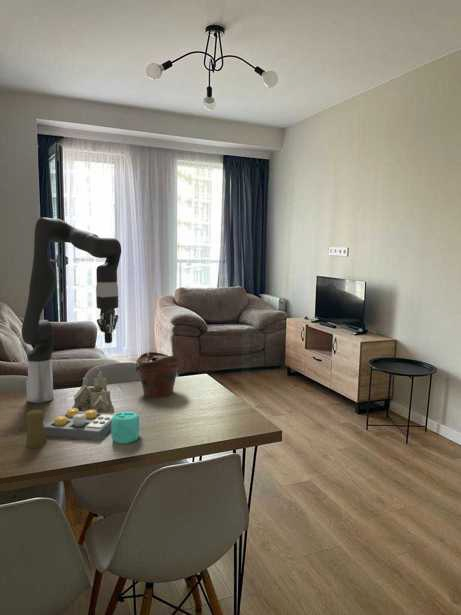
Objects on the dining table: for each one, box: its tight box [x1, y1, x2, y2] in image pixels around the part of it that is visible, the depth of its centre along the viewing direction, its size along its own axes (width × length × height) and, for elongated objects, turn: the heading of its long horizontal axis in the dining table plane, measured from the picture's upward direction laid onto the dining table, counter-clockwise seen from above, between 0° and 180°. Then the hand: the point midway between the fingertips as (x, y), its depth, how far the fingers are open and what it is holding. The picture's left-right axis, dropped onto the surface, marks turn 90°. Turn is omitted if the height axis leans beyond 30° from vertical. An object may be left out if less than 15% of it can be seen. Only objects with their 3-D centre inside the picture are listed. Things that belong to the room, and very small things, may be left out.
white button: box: [73, 414, 86, 426], centre depth 152 cm, size 4×4×3 cm
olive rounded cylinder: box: [25, 409, 47, 449], centre depth 144 cm, size 6×6×11 cm
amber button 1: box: [53, 415, 67, 427], centre depth 154 cm, size 4×4×3 cm
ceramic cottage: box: [71, 371, 115, 414], centre depth 172 cm, size 16×16×15 cm
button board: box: [43, 411, 116, 441], centre depth 157 cm, size 20×16×4 cm
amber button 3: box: [85, 410, 97, 419], centre depth 160 cm, size 4×4×3 cm
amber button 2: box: [66, 407, 79, 418], centre depth 162 cm, size 4×4×3 cm
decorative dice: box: [110, 410, 140, 444], centre depth 149 cm, size 8×8×8 cm
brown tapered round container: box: [134, 351, 181, 398], centre depth 197 cm, size 18×20×18 cm
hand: (108, 342), depth 161 cm, fingers closed
